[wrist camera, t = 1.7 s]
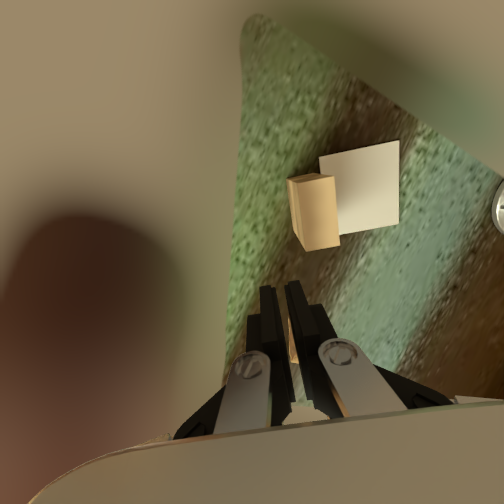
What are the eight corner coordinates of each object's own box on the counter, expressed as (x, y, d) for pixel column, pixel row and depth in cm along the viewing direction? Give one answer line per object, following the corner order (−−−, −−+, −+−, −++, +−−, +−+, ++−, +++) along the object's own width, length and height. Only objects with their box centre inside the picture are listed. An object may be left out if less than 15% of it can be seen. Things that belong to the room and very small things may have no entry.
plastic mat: (397, 140, 34) (399, 140, 33) (397, 223, 38) (398, 223, 37) (318, 157, 34) (319, 157, 34) (326, 236, 38) (327, 237, 38)
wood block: (313, 172, 35) (334, 176, 26) (318, 225, 38) (339, 245, 29) (286, 178, 36) (297, 183, 26) (293, 230, 38) (306, 251, 29)
